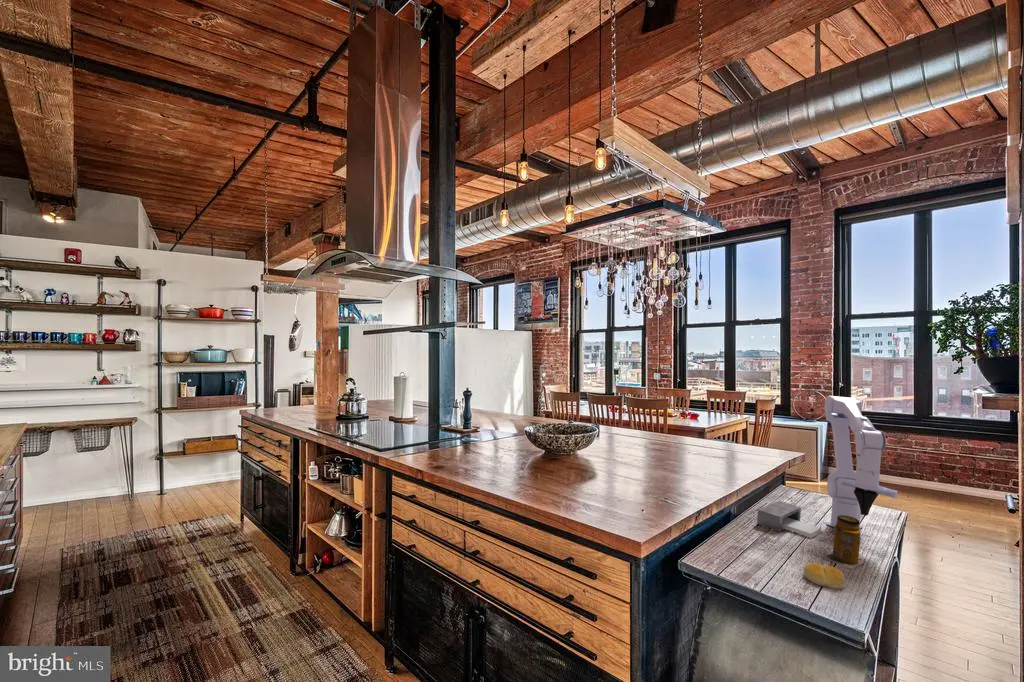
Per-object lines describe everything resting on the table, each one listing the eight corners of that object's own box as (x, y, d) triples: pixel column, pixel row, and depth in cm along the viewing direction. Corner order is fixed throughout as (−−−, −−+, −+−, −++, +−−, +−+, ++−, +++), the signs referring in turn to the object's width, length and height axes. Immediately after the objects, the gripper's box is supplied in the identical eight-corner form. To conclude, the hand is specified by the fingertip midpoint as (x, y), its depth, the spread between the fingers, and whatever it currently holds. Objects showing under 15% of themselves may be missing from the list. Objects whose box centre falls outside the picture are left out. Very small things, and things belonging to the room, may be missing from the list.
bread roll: (803, 569, 130) (804, 554, 130) (843, 580, 125) (844, 565, 125) (802, 582, 123) (803, 566, 123) (845, 594, 118) (846, 578, 118)
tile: (777, 520, 165) (778, 514, 165) (820, 534, 155) (820, 528, 155) (767, 525, 160) (768, 519, 160) (810, 540, 150) (811, 533, 150)
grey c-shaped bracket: (778, 514, 169) (779, 500, 169) (799, 521, 163) (800, 507, 163) (756, 524, 159) (757, 509, 159) (779, 532, 154) (780, 516, 153)
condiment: (864, 562, 136) (867, 520, 135) (851, 569, 131) (854, 526, 130) (835, 551, 142) (838, 511, 141) (822, 558, 137) (825, 516, 137)
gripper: (835, 465, 149) (832, 508, 149) (893, 478, 137) (890, 525, 138) (843, 462, 153) (840, 504, 153) (900, 475, 142) (897, 520, 142)
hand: (864, 514), depth 146 cm, fingers closed
